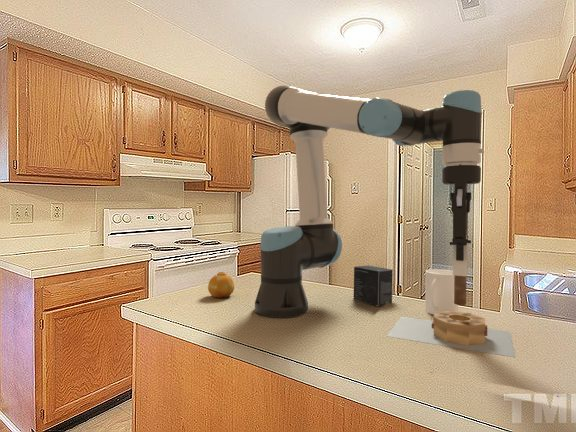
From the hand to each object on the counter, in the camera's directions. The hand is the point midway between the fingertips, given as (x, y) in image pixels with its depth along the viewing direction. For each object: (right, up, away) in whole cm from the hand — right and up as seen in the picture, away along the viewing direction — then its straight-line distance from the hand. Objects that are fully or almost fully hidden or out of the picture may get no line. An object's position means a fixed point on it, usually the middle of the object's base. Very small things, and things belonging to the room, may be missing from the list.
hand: (460, 274), depth 81 cm
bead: (0, -14, +1) cm, 14 cm away
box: (-11, -14, +34) cm, 39 cm away
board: (-2, -15, +2) cm, 15 cm away
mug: (+2, -14, +18) cm, 23 cm away
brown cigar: (0, -6, 0) cm, 6 cm away
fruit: (-59, -14, +41) cm, 73 cm away
